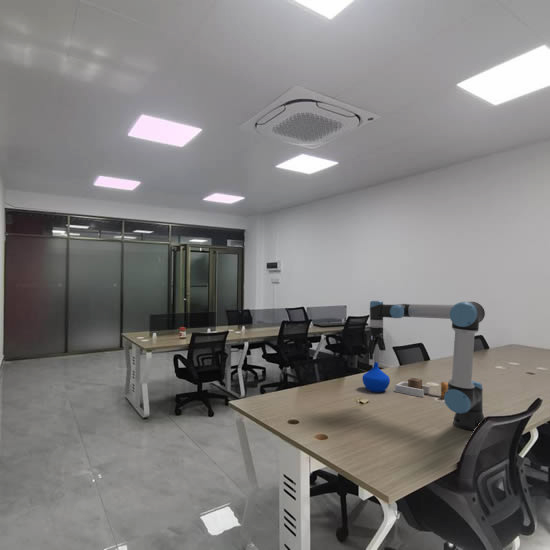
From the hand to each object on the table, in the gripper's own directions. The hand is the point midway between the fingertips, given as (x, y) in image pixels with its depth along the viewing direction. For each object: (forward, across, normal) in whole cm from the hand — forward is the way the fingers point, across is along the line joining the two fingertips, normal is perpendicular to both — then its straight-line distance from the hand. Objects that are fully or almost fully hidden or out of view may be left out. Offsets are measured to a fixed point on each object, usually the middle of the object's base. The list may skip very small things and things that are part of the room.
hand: (376, 363), depth 209 cm
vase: (+27, -37, -17) cm, 49 cm away
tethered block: (+27, -49, +15) cm, 58 cm away
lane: (+27, -49, +5) cm, 56 cm away
